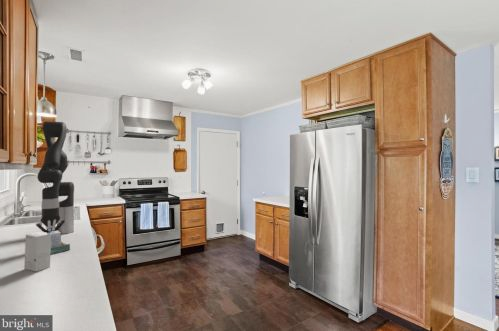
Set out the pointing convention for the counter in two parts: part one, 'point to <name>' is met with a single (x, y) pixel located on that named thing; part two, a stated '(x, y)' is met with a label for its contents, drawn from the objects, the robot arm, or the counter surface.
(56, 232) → the medicine box
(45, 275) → the counter surface
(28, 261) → the skincare box
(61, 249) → the wooden tray
